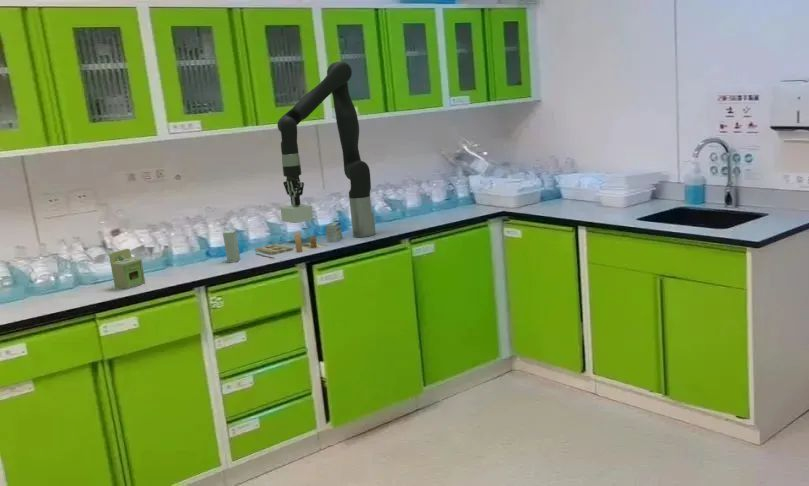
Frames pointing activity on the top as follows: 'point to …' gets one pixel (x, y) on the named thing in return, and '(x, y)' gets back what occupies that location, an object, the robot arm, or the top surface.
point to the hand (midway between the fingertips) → (295, 204)
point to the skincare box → (231, 246)
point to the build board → (273, 250)
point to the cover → (296, 213)
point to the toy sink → (126, 269)
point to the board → (311, 244)
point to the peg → (298, 242)
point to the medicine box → (333, 232)
